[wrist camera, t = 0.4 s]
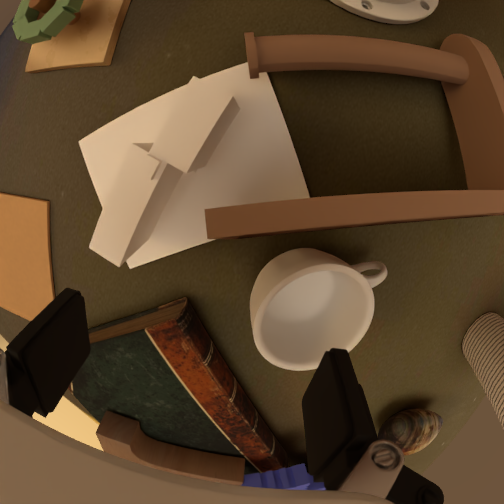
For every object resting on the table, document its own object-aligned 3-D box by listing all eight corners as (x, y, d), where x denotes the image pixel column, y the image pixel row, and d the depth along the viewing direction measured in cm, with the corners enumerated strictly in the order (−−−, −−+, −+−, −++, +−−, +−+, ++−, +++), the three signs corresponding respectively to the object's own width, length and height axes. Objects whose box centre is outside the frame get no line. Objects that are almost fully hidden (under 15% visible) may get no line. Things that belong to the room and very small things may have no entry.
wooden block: (115, 438, 26) (240, 468, 27) (106, 459, 23) (238, 491, 24) (105, 409, 24) (251, 444, 24) (94, 432, 21) (250, 471, 21)
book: (58, 337, 25) (173, 463, 33) (41, 357, 22) (168, 482, 30) (190, 293, 23) (288, 450, 31) (179, 318, 19) (289, 472, 27)
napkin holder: (131, 271, 22) (98, 306, 17) (77, 142, 19) (30, 147, 13) (315, 207, 20) (334, 230, 15) (259, 55, 16) (259, 24, 11)
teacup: (267, 343, 23) (281, 387, 18) (225, 266, 21) (229, 301, 16) (373, 289, 23) (408, 321, 18) (349, 206, 21) (388, 223, 16)
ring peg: (60, -10, 13) (20, -31, 7) (142, -26, 14) (109, -64, 7) (32, 73, 16) (-18, 66, 10) (110, 65, 17) (61, 45, 10)
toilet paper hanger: (454, 75, 18) (513, 25, 8) (488, 216, 19) (573, 208, 9) (220, 68, 19) (193, -23, 9) (236, 239, 20) (207, 239, 10)
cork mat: (-29, 187, 20) (-31, 187, 19) (49, 201, 20) (47, 202, 20) (-15, 296, 25) (-17, 297, 24) (61, 331, 25) (59, 333, 25)
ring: (41, -14, 10) (30, -20, 8) (98, -31, 10) (88, -40, 9) (17, 48, 12) (4, 45, 10) (71, 36, 12) (58, 30, 11)
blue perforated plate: (232, 520, 35) (230, 509, 37) (363, 486, 34) (359, 475, 36) (150, 503, 22) (150, 485, 24) (365, 460, 21) (357, 439, 23)
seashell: (394, 427, 32) (444, 404, 28) (399, 463, 27) (453, 441, 23) (360, 418, 28) (421, 390, 24) (365, 461, 24) (432, 437, 20)
